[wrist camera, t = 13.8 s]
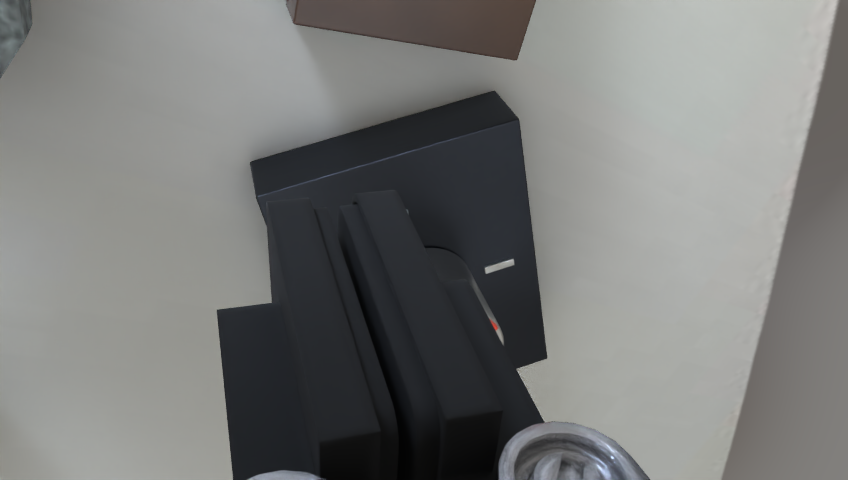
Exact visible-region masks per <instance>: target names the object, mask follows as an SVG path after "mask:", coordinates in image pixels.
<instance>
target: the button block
mask: <svg viewBox="0 0 848 480" xmlns="http://www.w3.org/2000/svg"><path fill="white" fill-rule="evenodd" d="M535 2H536V0H287V4H286V5H287V8H288V11H289V13H290V16H291V18H292V21H293V23H294V24H296V25H302V26H308V27H314V28H320V29H326V30H333V31H339V32H345V33H351V34H357V35H363V36H369V37H375V38H381V39H388V40H394V41H400V42H406V43H412V44H418V45H424V46H430V47H436V48H442V49H449V50H455V51H461V52H467V53H473V54H479V55H485V56H491V57H497V58H504V59H510V60H517V59H518V55H519V52H520V49H521V46H522V43H523V40H524V36H525V33H526V30H527V27H528V24H529V21H530V17H531V14H532V11H533V8H534V5H535Z"/></svg>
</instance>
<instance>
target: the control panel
mask: <svg viewBox="0 0 848 480" xmlns="http://www.w3.org/2000/svg"><path fill="white" fill-rule="evenodd" d="M250 166H251V171H252V177H253V183H254V189H255V194H256V199H257V202H258V204H259V207H260V210H261V212H262V215H263V218H264V220H265V223H266V226H267V218H266V202H267V201H278V200H289V199H300V198H310V200H311V203H312V206H313V208H323V207H327V208H328V211H329V213H330V216H331V219H332V222H333V225H334V228H335V231H336V234H337V237H338V208H339V206H344V205H352V198H353V195H354V193H365V192H376V191H387V190H396V191H397V192H398V194H399V196H400V198H401V200H402V202H403V204H404V206H405V208H406V210H407V212H408V214H409V216H410V218H411V221H412V223H413V225H414V227H415V229H416V231H417V233H418V235H419V237H420V239H421V241H422V243H423V245H424V247H425V248H439V249H444V250H447V251H450V252H452V253H454V254H456V255H457V256H459V257H460V258H461V259H462V260H463V261H464V262H465V264H466V265H467V267H468V269H469V271H470V272H471V274H472V276H473V278H474V280H475V282H476V284H477V285H478V287H479V289H480V291H481V293H482V295H483V297H484V299H485V300H486V302H487V304H488V306H489V308H490V310H491V312H492V313H493V315H494V317H495V319H496V321H497V323H498V325H499V327H500V329H501V331H502V334H503V339H504V348H505V349H506V351H507V353H508V355H509V357H510V359H511V361H512V363H513V364H514V366H515V368H516V369H517V368H520V367H523V366H526V365H529V364H532V363H535V362H538V361H541V360H544V359H547V352H546V343H545V335H544V326H543V318H542V309H541V301H540V292H539V284H538V275H537V266H536V258H535V249H534V241H533V232H532V224H531V215H530V207H529V198H528V190H527V181H526V173H525V164H524V156H523V147H522V139H521V130H520V122H519V118H518V117H517V116H516V115H515V114H514V113H513V111H512V110H511V109H510V108H509V107H508V106H507V105H506V103H505V102H504V101H503V100H502V99H501V98H500V96H499V95H498V94H497V93H496V92H495V91H493V92H489V93H486V94H482V95H479V96H475V97H472V98H469V99H465V100H462V101H458V102H455V103H451V104H448V105H445V106H441V107H438V108H434V109H431V110H427V111H424V112H420V113H417V114H414V115H410V116H407V117H403V118H400V119H396V120H393V121H390V122H386V123H383V124H379V125H376V126H372V127H369V128H366V129H362V130H359V131H355V132H352V133H348V134H345V135H342V136H338V137H335V138H331V139H328V140H324V141H321V142H318V143H314V144H311V145H307V146H304V147H300V148H297V149H294V150H290V151H287V152H283V153H280V154H276V155H273V156H270V157H266V158H263V159H259V160H256V161H252V162H250Z"/></svg>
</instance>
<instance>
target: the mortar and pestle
mask: <svg viewBox="0 0 848 480" xmlns="http://www.w3.org/2000/svg"><path fill="white" fill-rule="evenodd" d="M31 25H32V14H31V3H30V0H0V78H1V77H2V75H3V73H4V72H5V70H6V69H7V67H8V66H9V64H10V62H11V61H12V59H13V58H14V56H15V55H16V53H17V51H18V50H19V48H20V47H21V45H22V44H23V42H24V40H25V39H26V37H27V34H28V32H29V30H30V28H31Z"/></svg>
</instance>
